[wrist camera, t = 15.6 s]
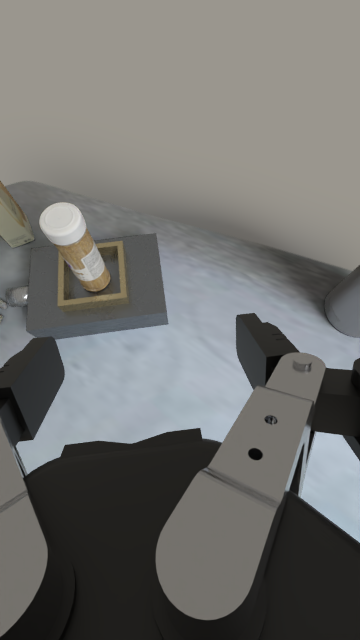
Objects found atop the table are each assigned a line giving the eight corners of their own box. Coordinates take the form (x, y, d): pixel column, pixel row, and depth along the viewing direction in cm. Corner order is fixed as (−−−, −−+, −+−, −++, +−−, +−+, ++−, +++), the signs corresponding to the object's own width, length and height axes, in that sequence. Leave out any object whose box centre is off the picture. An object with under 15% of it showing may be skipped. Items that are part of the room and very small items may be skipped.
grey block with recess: (158, 251, 50) (154, 224, 43) (168, 324, 45) (165, 306, 38) (22, 268, 49) (-3, 243, 42) (17, 344, 44) (-12, 330, 37)
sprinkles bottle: (75, 282, 42) (28, 221, 29) (95, 261, 43) (59, 193, 31) (97, 298, 41) (59, 241, 28) (117, 276, 42) (89, 212, 30)
